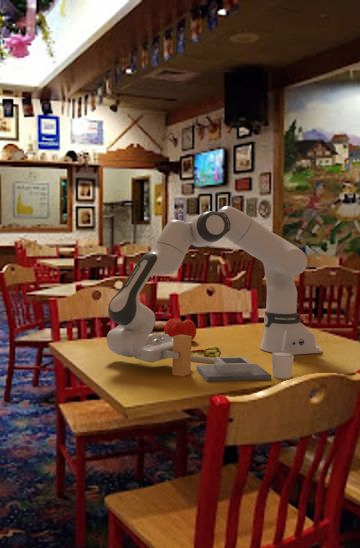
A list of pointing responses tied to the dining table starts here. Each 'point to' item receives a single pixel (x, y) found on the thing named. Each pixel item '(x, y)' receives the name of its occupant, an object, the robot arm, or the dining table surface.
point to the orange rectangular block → (182, 355)
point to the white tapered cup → (282, 364)
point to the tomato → (180, 328)
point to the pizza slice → (205, 355)
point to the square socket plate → (232, 370)
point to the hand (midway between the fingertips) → (184, 354)
